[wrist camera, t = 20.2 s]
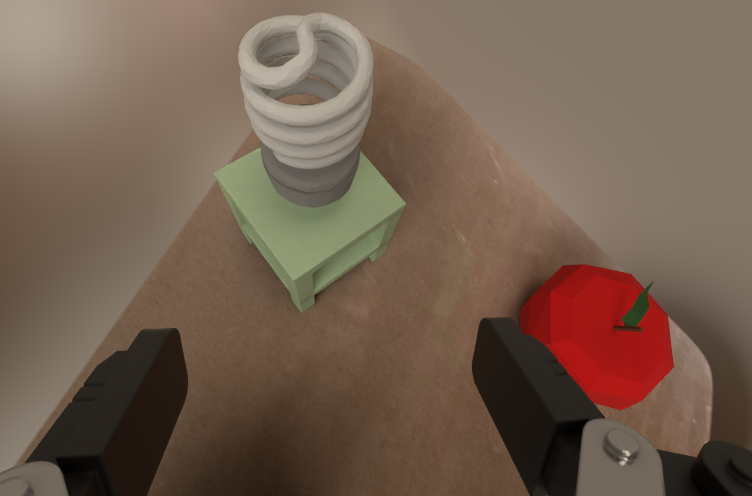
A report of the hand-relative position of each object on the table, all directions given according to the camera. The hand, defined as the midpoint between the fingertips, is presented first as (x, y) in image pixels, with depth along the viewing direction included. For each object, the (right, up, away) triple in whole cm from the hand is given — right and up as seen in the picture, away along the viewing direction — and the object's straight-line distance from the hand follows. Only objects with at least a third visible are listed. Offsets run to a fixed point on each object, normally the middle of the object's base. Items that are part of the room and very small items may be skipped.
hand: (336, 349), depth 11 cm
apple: (+17, -6, +24) cm, 30 cm away
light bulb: (-3, +6, +15) cm, 17 cm away
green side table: (-4, +3, +24) cm, 25 cm away
